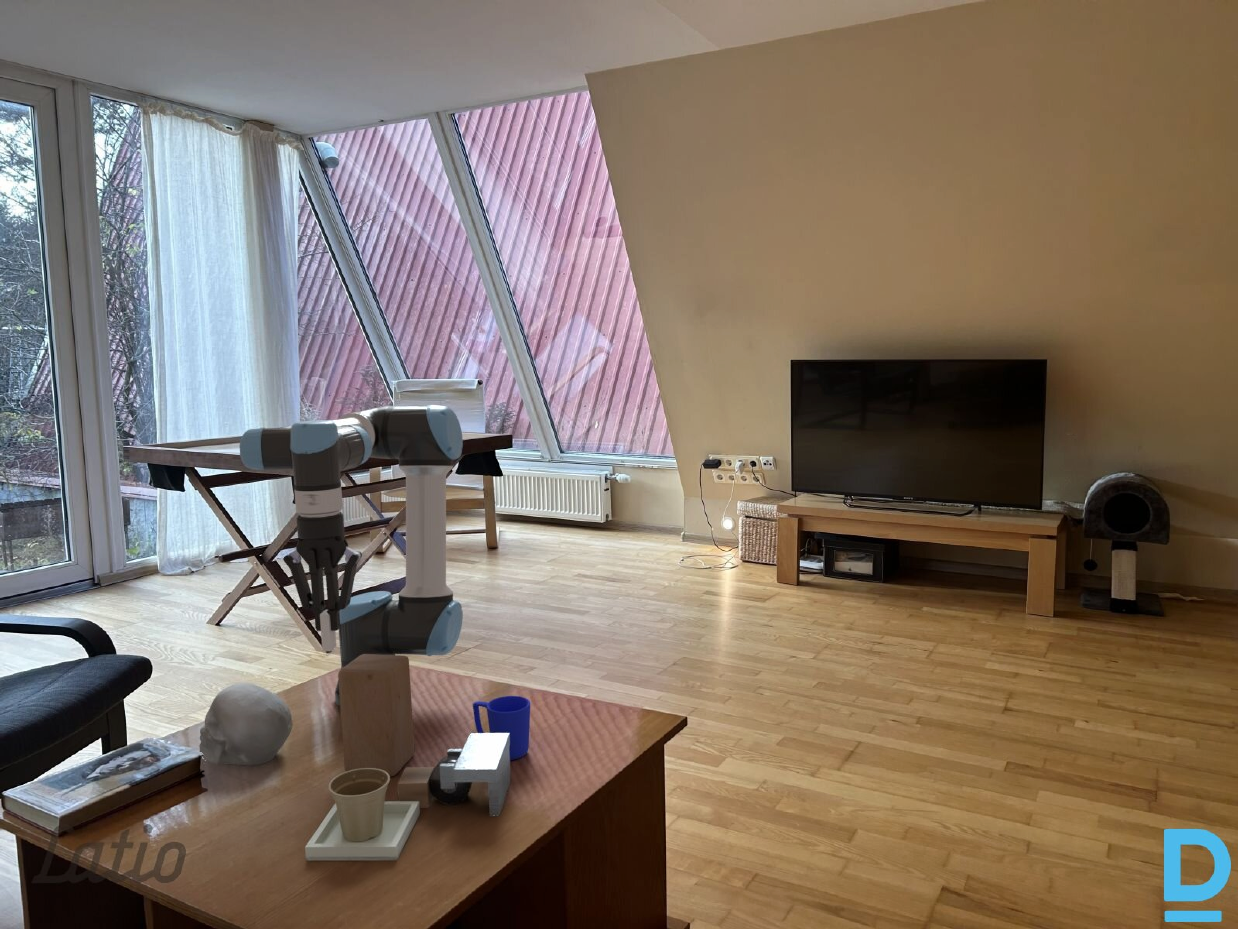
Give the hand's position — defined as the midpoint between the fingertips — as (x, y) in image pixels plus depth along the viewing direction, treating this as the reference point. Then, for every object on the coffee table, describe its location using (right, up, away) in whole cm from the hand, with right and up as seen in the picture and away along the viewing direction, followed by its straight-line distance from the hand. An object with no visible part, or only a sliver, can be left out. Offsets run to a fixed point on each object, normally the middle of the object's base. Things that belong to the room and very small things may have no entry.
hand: (329, 648), depth 160 cm
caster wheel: (+23, -26, +1) cm, 35 cm away
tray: (+9, -28, -11) cm, 31 cm away
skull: (-22, -25, +20) cm, 39 cm away
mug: (+27, -24, +18) cm, 40 cm away
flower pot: (+9, -27, -11) cm, 31 cm away
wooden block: (+5, -25, +14) cm, 29 cm away
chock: (+15, -26, +1) cm, 30 cm away
